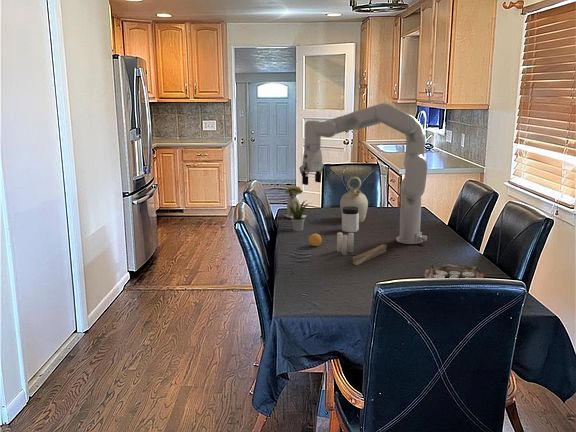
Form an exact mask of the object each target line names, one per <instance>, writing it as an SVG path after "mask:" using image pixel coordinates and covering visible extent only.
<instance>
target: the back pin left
mask: <svg viewBox="0 0 576 432" xmlns="http://www.w3.org/2000/svg"><path fill="white" fill-rule="evenodd" d="M341 255H342V256H347V255H348V235H346V234H343V235H342V252H341Z"/></svg>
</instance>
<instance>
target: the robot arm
mask: <svg viewBox="0 0 576 432" xmlns="http://www.w3.org/2000/svg"><path fill="white" fill-rule="evenodd" d="M379 124H384V125H386V126H387V127H389V128H391V129H393V130H395V131H397V132H399V133H402V134H404V135H405V140H406V141H405V142H406V143H405V152H404V153H405V154H404V160H403V167H404V169H405V171H404V177H403V178H402V181H401V182H400V191H399V192H400V211H399V214H400V215H399V236H397V237H395V240H396V242H397V243H400V244H405V245H418V244H419V245H420V244H421V243H423V242H424V241H426V242H427V240H428V236H427V235H424V234H423V232H422V231H421V218H422V217H421V216H422V196H423V195H424V193H425V189H426V183H427V175H428V174H427V173H428V163H427V160H426V158H425V149H426V134H425V130H424V128H423V126H422V124H421V123H420V121H418V119H416V118H415V117H414V116H413V115H412V114H409V113H406V112H405V111H403V110H401V109H399V108H397V107H394V106H393V105H391V104H389V103H386V102H383V103H379V104H374V105H372V106H369V107H365V108H362V109H359V110H358V109H357V110H355V111H352V112H350V113H348V114H343V115H340V116H337V117H334V118H331V119H326V120H325V121H319V120H307V121H305V123H304V144H303V145H304V149H303V155H302V164H301V166H300V167H299V168H298V169H299V171H300V174H301V177H302V179H301V180H302V181H301V184H302V185H304V186H305V185H306V186H308V185H309V174H310V173H315V174H314V182H315V183H322V174H323V171H324V166H325V164H324V163H323V154H322V153H323V152H322V150H321V143H322V142H321V141H322V140H321V139H322V138H323V137H324V138H333V137H334V136H335V135H337V134H341V133H343V132H349V131H354V130H356V131H357V130H362V129H366V128H369V127H373V126H376V125H379Z"/></svg>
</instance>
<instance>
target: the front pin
mask: <svg viewBox="0 0 576 432" xmlns="http://www.w3.org/2000/svg"><path fill="white" fill-rule="evenodd" d="M342 235H344V234H343V232H336V243H337V244H336V252H337V253H342Z"/></svg>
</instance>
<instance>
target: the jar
mask: <svg viewBox="0 0 576 432" xmlns="http://www.w3.org/2000/svg"><path fill="white" fill-rule="evenodd" d="M359 223H360V222H359V212H358V207H353V206H348V207H343V213H342V215H341V232H346V233H356V232H358V231H359V229H360V228H359V227H360V226H359V225H360V224H359Z"/></svg>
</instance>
